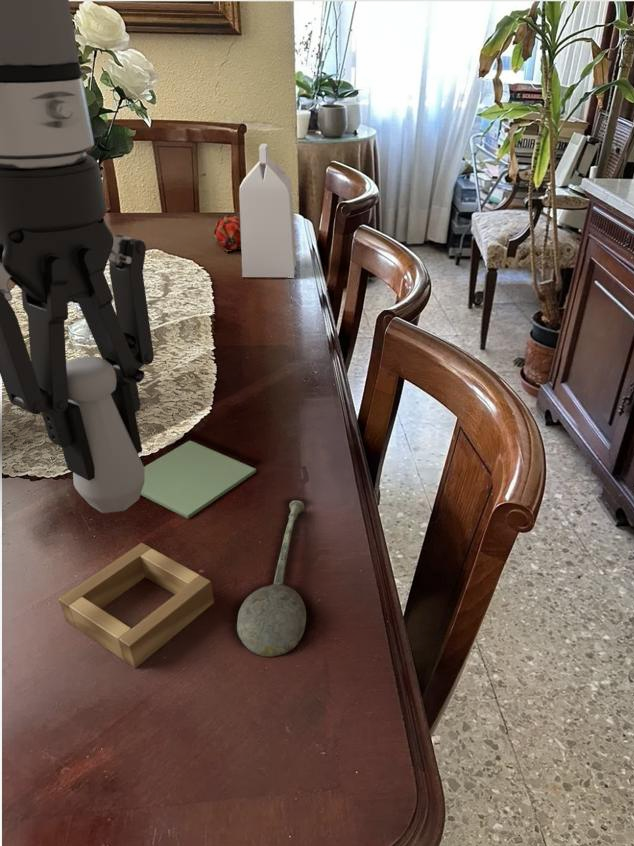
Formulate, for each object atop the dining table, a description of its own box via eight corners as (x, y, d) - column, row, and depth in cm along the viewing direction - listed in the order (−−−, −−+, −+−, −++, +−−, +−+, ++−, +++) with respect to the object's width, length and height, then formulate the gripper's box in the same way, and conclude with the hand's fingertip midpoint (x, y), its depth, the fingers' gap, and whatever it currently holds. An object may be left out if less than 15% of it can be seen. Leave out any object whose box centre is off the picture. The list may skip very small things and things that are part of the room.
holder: (65, 621, 64) (58, 598, 62) (146, 563, 71) (141, 542, 69) (135, 668, 59) (129, 646, 58) (214, 602, 66) (211, 581, 65)
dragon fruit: (239, 248, 172) (235, 269, 163) (210, 228, 168) (204, 249, 159) (256, 222, 167) (253, 242, 159) (227, 201, 164) (222, 221, 155)
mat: (119, 484, 83) (118, 481, 82) (190, 443, 91) (189, 440, 90) (188, 519, 77) (187, 515, 77) (256, 472, 85) (256, 468, 85)
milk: (247, 262, 157) (238, 140, 142) (296, 263, 158) (292, 141, 143) (242, 278, 147) (232, 150, 132) (294, 279, 148) (289, 151, 133)
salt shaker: (163, 490, 59) (139, 357, 52) (118, 527, 55) (85, 387, 47) (112, 473, 61) (81, 342, 54) (65, 507, 57) (25, 370, 49)
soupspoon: (230, 659, 61) (300, 665, 61) (228, 635, 59) (301, 642, 59) (270, 508, 79) (325, 513, 79) (270, 486, 77) (326, 491, 77)
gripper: (-69, 186, 35) (43, 529, 48) (176, 146, 46) (210, 431, 60) (-139, 166, 38) (-16, 493, 52) (106, 134, 50) (153, 407, 63)
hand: (105, 459), depth 56 cm, fingers closed on salt shaker, 4 cm apart
